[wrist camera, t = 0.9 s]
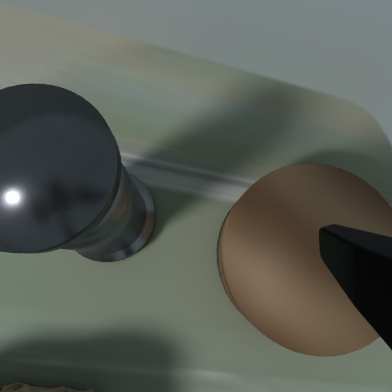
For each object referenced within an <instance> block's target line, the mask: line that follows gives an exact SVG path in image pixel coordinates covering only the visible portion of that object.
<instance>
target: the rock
mask: <svg viewBox="0 0 392 392" xmlns="http://www.w3.org/2000/svg"><path fill="white" fill-rule="evenodd" d="M0 392H95V390H94V389H93V388H90V389H88V390H77V389H72V388H68V387H64V386H59V387H35V386H30V385H27V384H24V383H21V382H17V383H13V384H9V385H5V386H2V387H0Z"/></svg>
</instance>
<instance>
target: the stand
mask: <svg viewBox="0 0 392 392" xmlns="http://www.w3.org/2000/svg"><path fill="white" fill-rule="evenodd" d="M330 224H338V225H342V226H346V227H351V228H355V229H359V230H363V231H368V232H372V233H376V234H381V235H385V236H389V237H392V208H391V207H390V206H389V204H388V203H387V202H386V200H385V199H384V198H383V197H382V196H381V195H380V194H379V193H378V192H377V191H376V190H375V189H374V188H373V187H371V186H370V185H369V184H368V183H366V182H365V181H363V180H362V179H360V178H359V177H357V176H355V175H353V174H351V173H349V172H347V171H344V170H342V169H339V168H336V167H332V166H328V165H322V164H297V165H291V166H287V167H283V168H280V169H278V170H275V171H273V172H271V173H269V174H267V175H266V176H264V177H262V178H261V179H259V180H258V181H257V182H256V183H254V184H253V185H252V186H251V187H250V188H249V189H248V190H247V191H246V192H245V193H244V194H243V195H242V196H241V197H240V199H239V200H238V201H237V202H236V203H235V204H234V206H233V207H232V208H231V210H230V211H229V212H228V214H227V216H226V218H225V220H224V222H223V225H222V227H221V230H220V234H219V238H218V244H217V264H218V270H219V274H220V278H221V281H222V284H223V286H224V289H225V291H226V293H227V295H228V297H229V298H230V300H231V302H232V303H233V304H234V306H235V307H236V308H237V310H238V311H239V312H240V313H241V314H242V315H243V316H244V317H245V318H246V319H247V320H248V321H249V322H250V323H251V324H253V325H254V326H255V327H256V328H257V329H258V330H259V331H260V332H261V333H263V334H264V335H265V336H267V337H268V338H269V339H271V340H272V341H274V342H276V343H277V344H279V345H281V346H283V347H285V348H287V349H290V350H292V351H295V352H299V353H302V354H306V355H313V356H337V355H343V354H347V353H350V352H353V351H356V350H359V349H361V348H363V347H365V346H367V345H369V344H370V343H372V342H373V341H374V340H376V339H377V338H379V337H380V336H379V335H378V333H377V332H376V331H375V330H374V329H373V328H372V326H371V325H370V324H369V323H368V322H367V321H366V319H365V318H364V317H363V316H362V315H361V314H360V312H359V311H358V310H357V309H356V308H355V306H354V305H353V304H352V302H351V301H350V300H349V298H348V297H347V295H346V294H345V292H344V291H343V290H342V288H341V287H340V285H339V284H338V282H337V281H336V279H335V278H334V277H333V275H332V274H331V272H330V271H329V269H328V268H327V267H326V265H325V264H324V262H323V261H322V259H321V256H320V250H319V229H320V228H321V227H324V226H327V225H330Z"/></svg>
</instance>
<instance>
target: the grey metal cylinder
mask: <svg viewBox="0 0 392 392" xmlns="http://www.w3.org/2000/svg"><path fill="white" fill-rule="evenodd" d="M155 223H156V208H155V204H154V201H153V198H152V196H151V194H150V192H149V191H148V189H147V188H146V186H145V185H144V184H143V183H142V182H141V181H140V180H139V179H137V178H136V177H134V176H132V175H131V174H128V172H127V171H126V169H125V167H124V166H123V164H122V162H121V156H120V151H119V147H118V145H117V142H116V140H115V137H114V136H113V134H112V132H111V130H110V128H109V127H108V125H107V123H106V121H105V120H104V118H103V117H102V115H101V114H100V113H99V112H98V110H97V109H96V108H95V107H94V106H93V105H92V104H91V103H89V102H88V101H87V100H85V99H84V98H83V97H81V96H79V95H77V94H76V93H74V92H72V91H69V90H67V89H64V88H61V87H57V86H53V85H46V84H22V85H16V86H11V87H7V88H4V89H1V90H0V251H2V252H10V253H44V252H50V251H54V250H57V249H68V250H75V251H76V252H78V253H79V254H80V255H82V256H84V257H86V258H88V259H90V260H94V261H100V262H115V261H120V260H124V259H126V258H129V257H131V256H132V255H134V254H136V253H137V252H138V251H140V250H141V249H142V248H143V247H144V246H145V244H146V243H147V242H148V240H149V239H150V237H151V235H152V233H153V231H154V227H155Z"/></svg>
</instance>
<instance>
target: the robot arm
mask: <svg viewBox="0 0 392 392" xmlns="http://www.w3.org/2000/svg"><path fill="white" fill-rule="evenodd" d="M319 250H320V256H321V259H322V261H323V262H324V264H325V265H326V267H327V268H328V269H329V271H330V272H331V274H332V275H333V277H334V278H335V279H336V281H337V282H338V284H339V285H340V287H341V288H342V290H343V291H344V292H345V294H346V295H347V297H348V298H349V300H350V301H351V302H352V304H353V305H354V306H355V308H356V309H357V310H358V311H359V312H360V314H361V315H362V316H363V317H364V318H365V319H366V321H367V322H368V323H369V324H370V325H371V326H372V328H373V329H374V330H375V331H376V332H377V333H378V335H379V336H380V337H381V338H382V339H383V340H384V341H385V343H386V344H387V345H388V346H389V347H390V348H391V350H392V237H389V236H385V235H381V234H376V233H372V232H368V231H363V230H359V229H355V228H351V227H346V226H342V225H338V224H330V225H327V226H324V227H321V228H320V229H319Z"/></svg>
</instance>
